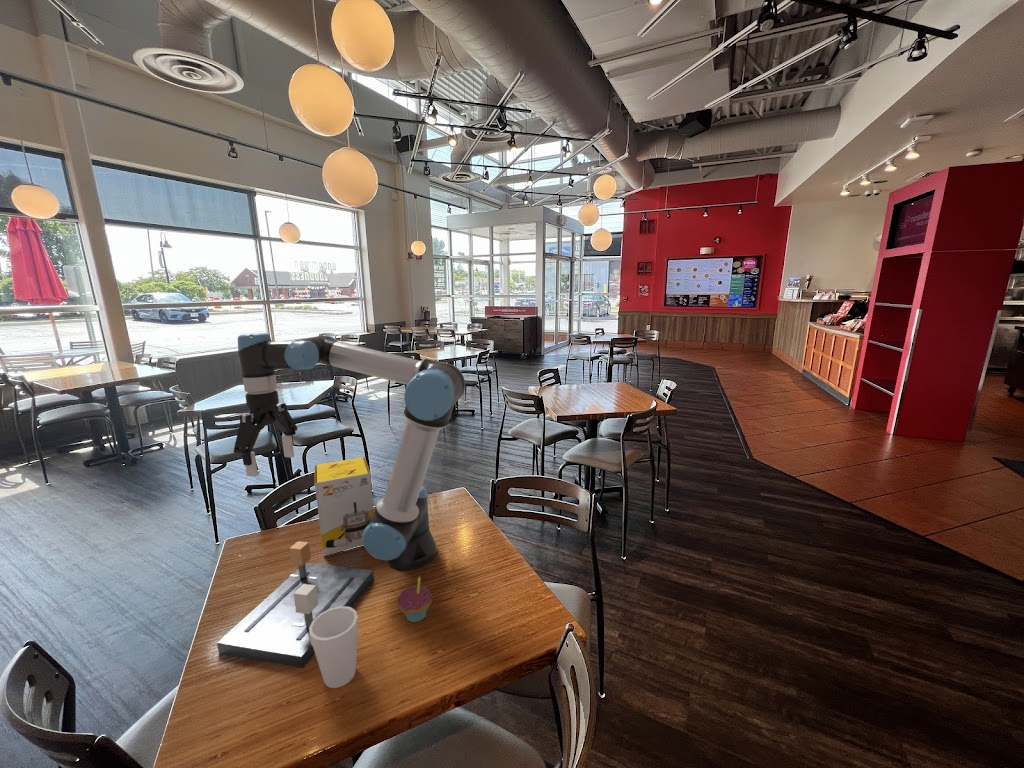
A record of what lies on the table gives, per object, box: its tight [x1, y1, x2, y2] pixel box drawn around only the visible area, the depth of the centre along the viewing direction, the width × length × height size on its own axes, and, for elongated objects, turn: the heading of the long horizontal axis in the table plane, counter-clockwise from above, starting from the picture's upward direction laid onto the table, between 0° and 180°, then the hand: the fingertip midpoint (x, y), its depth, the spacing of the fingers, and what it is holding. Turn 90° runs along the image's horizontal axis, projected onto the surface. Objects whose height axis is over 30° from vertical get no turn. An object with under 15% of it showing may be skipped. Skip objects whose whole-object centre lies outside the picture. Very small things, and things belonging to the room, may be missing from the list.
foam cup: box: [309, 606, 360, 689], centre depth 88 cm, size 10×9×13 cm
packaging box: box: [314, 456, 375, 555], centre depth 139 cm, size 16×16×25 cm
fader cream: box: [294, 584, 318, 627], centre depth 98 cm, size 3×3×10 cm
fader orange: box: [288, 541, 312, 578], centre depth 116 cm, size 3×3×10 cm
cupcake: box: [396, 575, 433, 623], centre depth 104 cm, size 9×8×12 cm
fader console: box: [216, 562, 375, 669], centre depth 107 cm, size 22×30×3 cm
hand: (272, 465), depth 115 cm, fingers open, 13 cm apart
